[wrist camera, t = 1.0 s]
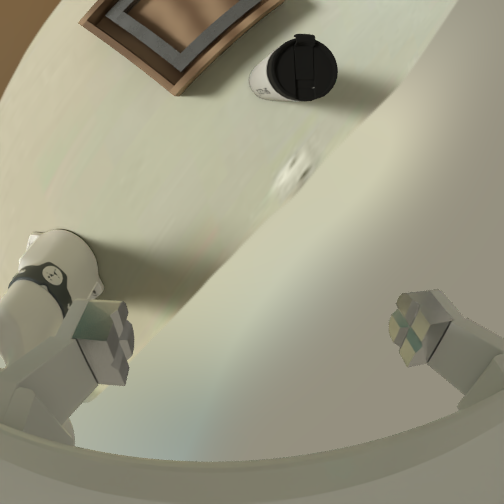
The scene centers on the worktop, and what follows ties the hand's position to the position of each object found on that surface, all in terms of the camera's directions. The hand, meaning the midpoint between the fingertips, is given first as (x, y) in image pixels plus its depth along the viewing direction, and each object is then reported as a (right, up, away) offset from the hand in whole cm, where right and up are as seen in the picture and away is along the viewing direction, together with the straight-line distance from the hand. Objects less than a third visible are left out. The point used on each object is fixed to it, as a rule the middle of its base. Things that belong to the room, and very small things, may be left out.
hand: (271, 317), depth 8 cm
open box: (-11, +38, +24) cm, 46 cm away
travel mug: (+2, +27, +31) cm, 42 cm away
